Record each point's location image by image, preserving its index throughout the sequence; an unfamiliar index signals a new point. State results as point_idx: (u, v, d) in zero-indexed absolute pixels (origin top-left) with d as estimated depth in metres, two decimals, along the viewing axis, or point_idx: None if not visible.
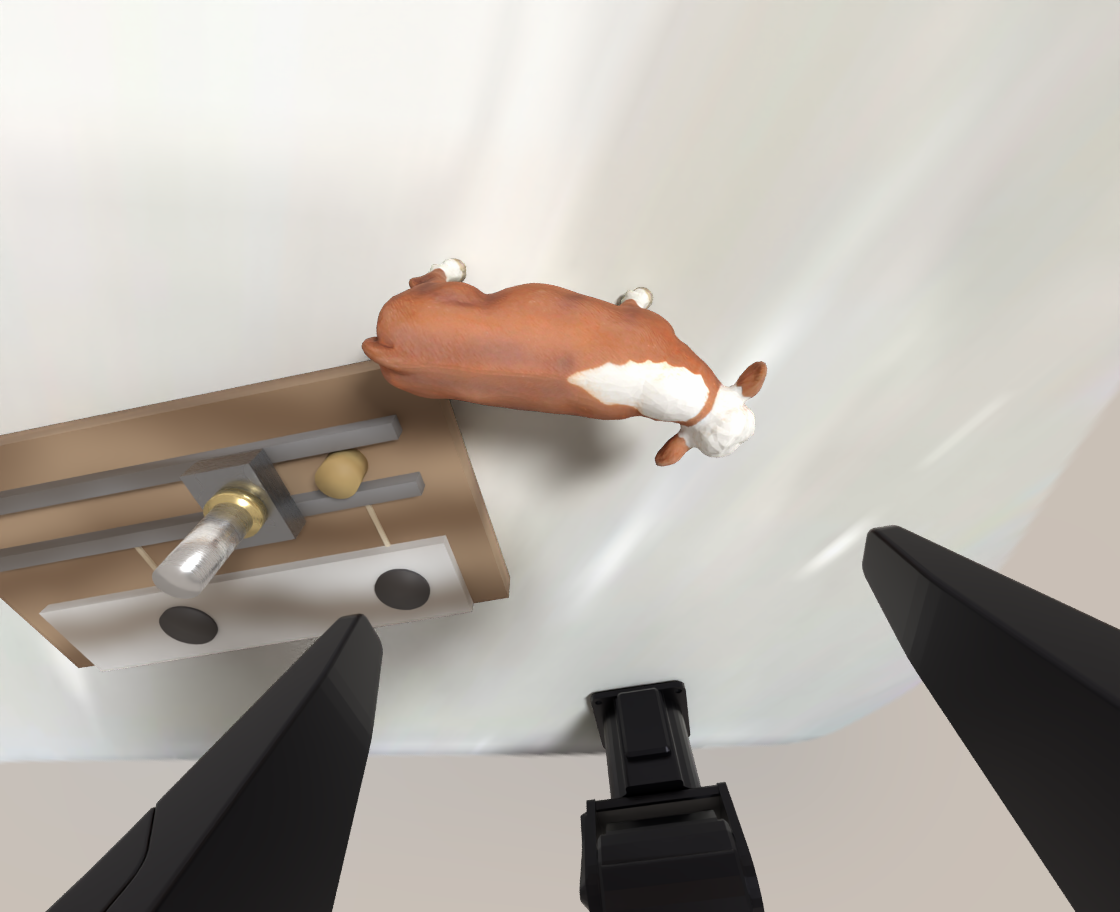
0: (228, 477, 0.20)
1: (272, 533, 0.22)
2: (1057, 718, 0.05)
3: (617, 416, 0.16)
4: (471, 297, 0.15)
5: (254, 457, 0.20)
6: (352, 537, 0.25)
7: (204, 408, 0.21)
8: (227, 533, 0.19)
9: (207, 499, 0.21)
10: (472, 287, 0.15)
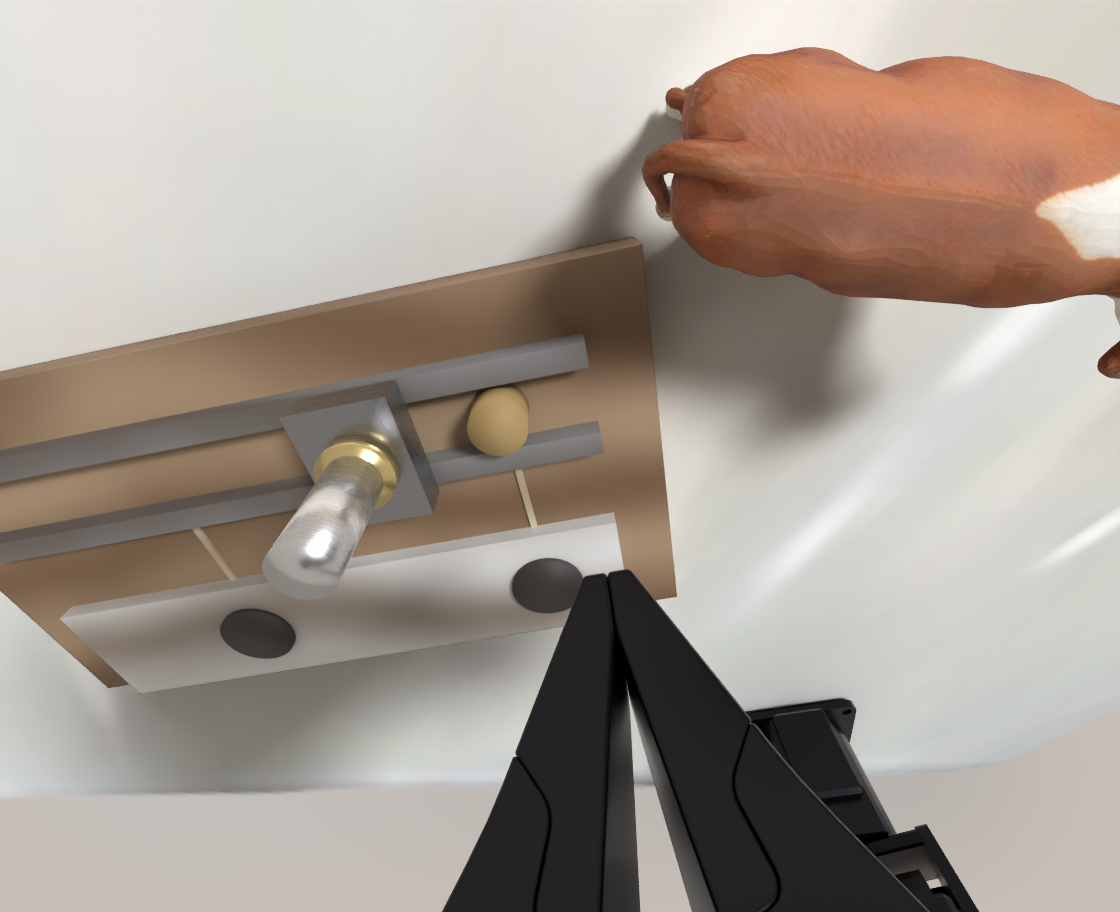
0: (351, 419, 0.14)
1: (402, 505, 0.15)
2: (660, 772, 0.06)
3: (1078, 286, 0.09)
4: (858, 64, 0.08)
5: (389, 390, 0.14)
6: (487, 515, 0.18)
7: (308, 321, 0.14)
8: (360, 499, 0.12)
9: (316, 453, 0.14)
10: None
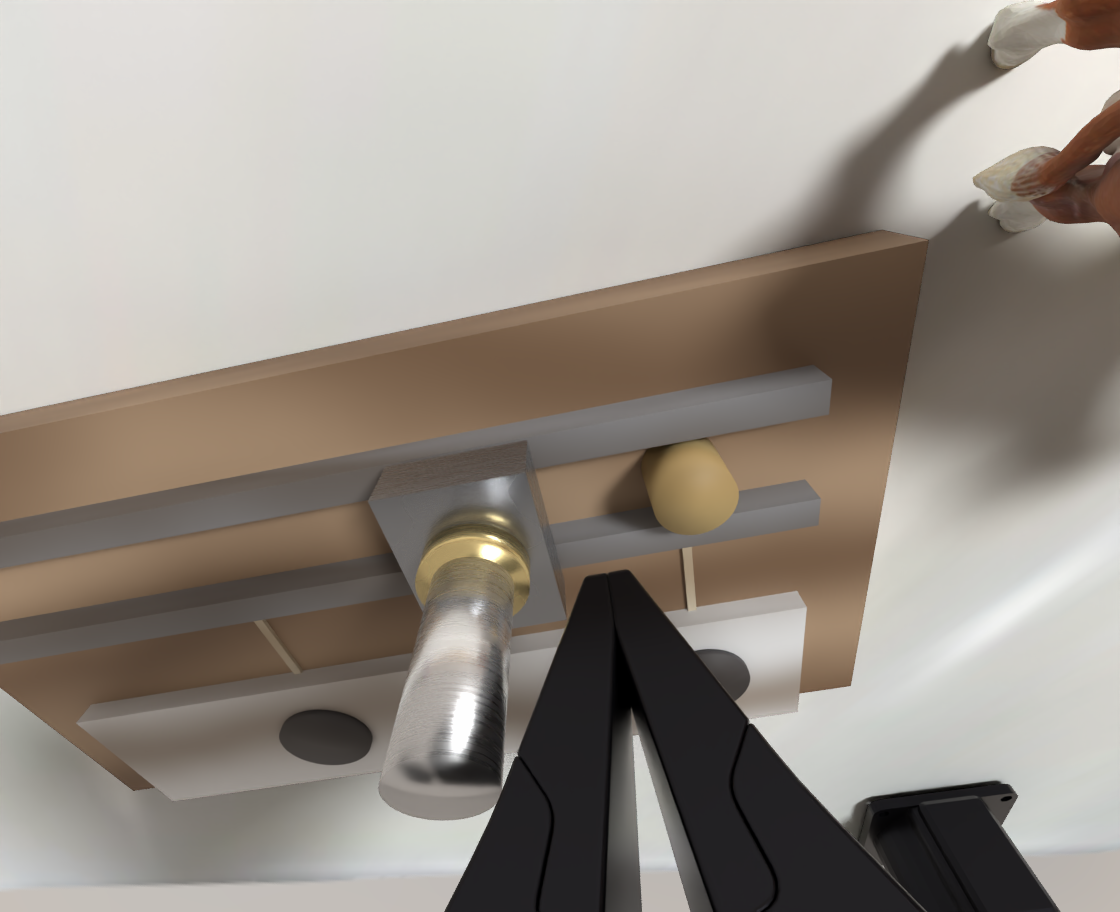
0: (472, 502, 0.09)
1: (525, 610, 0.11)
2: (658, 772, 0.06)
3: None
4: None
5: (526, 459, 0.09)
6: None
7: (433, 351, 0.10)
8: (501, 634, 0.08)
9: (416, 547, 0.10)
10: None
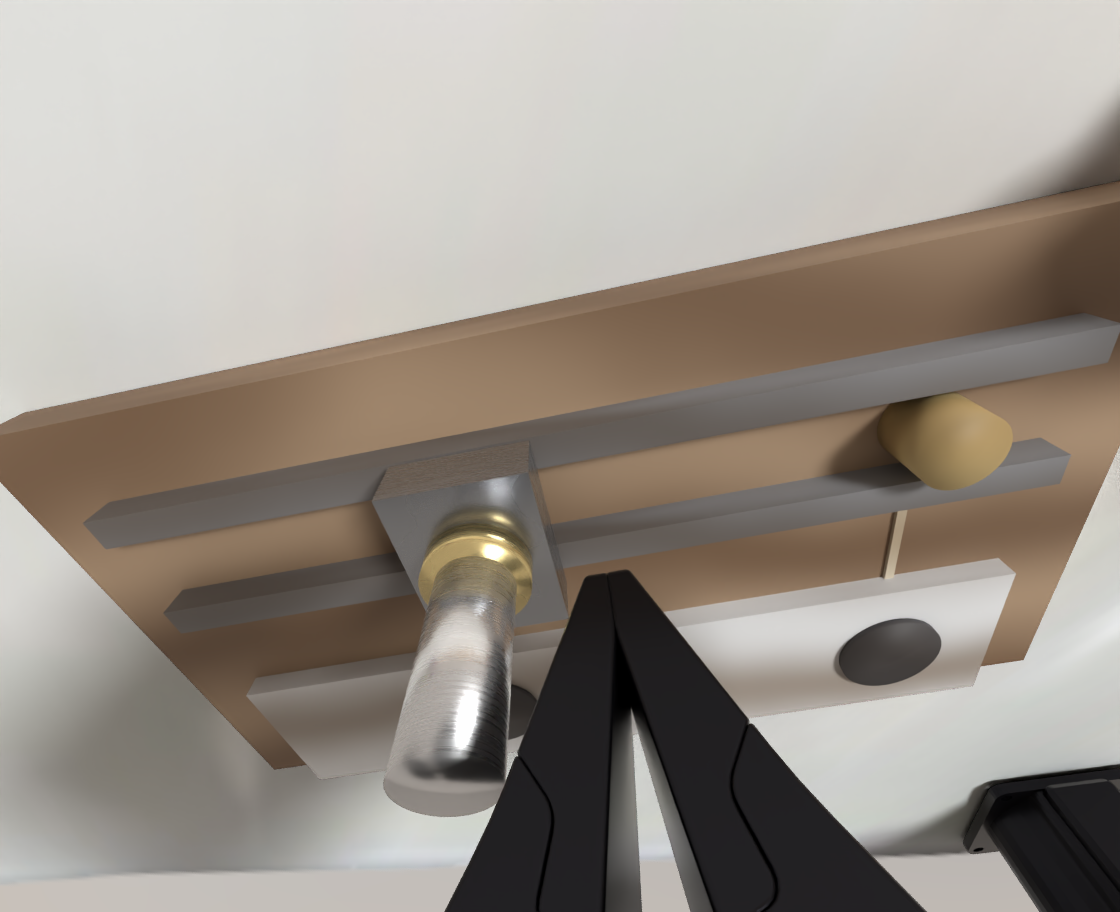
0: (475, 502, 0.09)
1: (528, 609, 0.11)
2: (658, 772, 0.06)
3: None
4: None
5: (528, 459, 0.09)
6: (832, 562, 0.14)
7: (701, 297, 0.10)
8: (504, 633, 0.08)
9: (419, 546, 0.10)
10: None
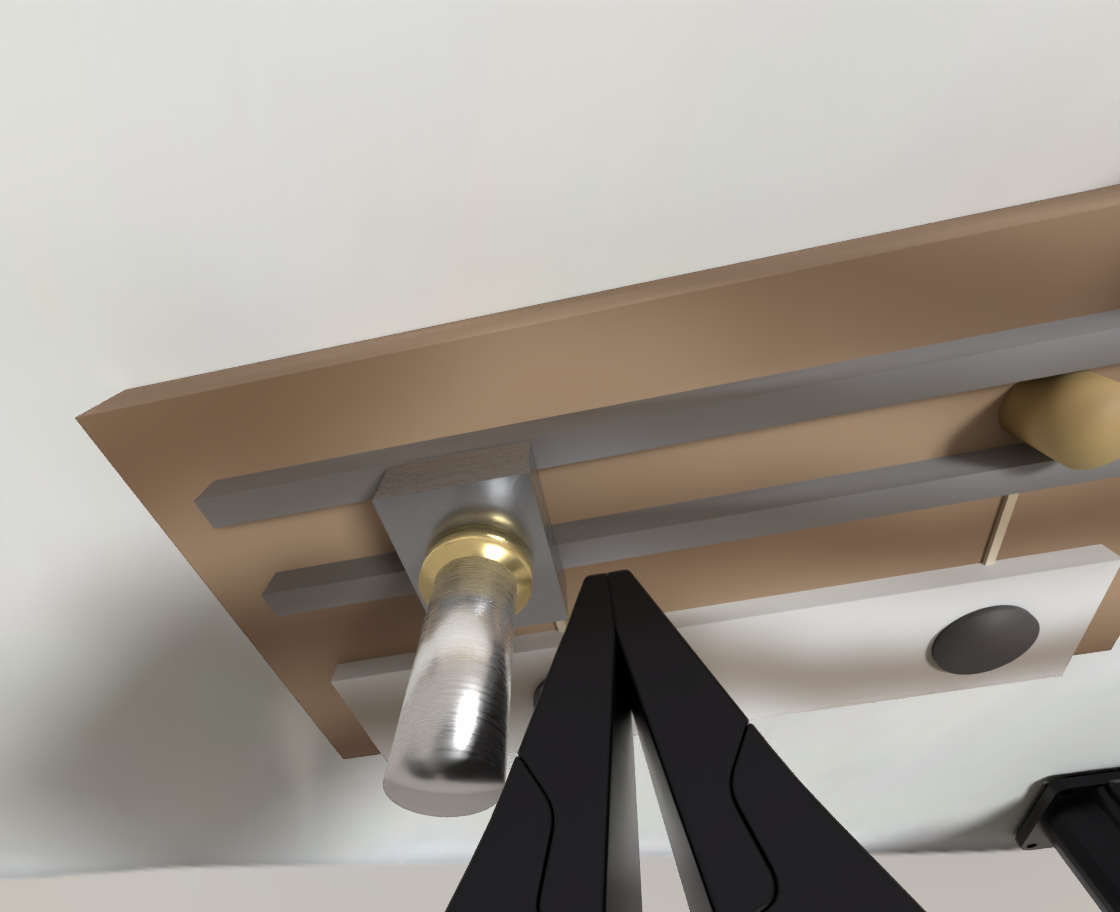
0: (476, 502, 0.09)
1: (528, 609, 0.11)
2: (657, 772, 0.06)
3: None
4: None
5: (529, 460, 0.09)
6: (934, 547, 0.13)
7: (842, 270, 0.10)
8: (504, 633, 0.08)
9: (419, 546, 0.10)
10: None
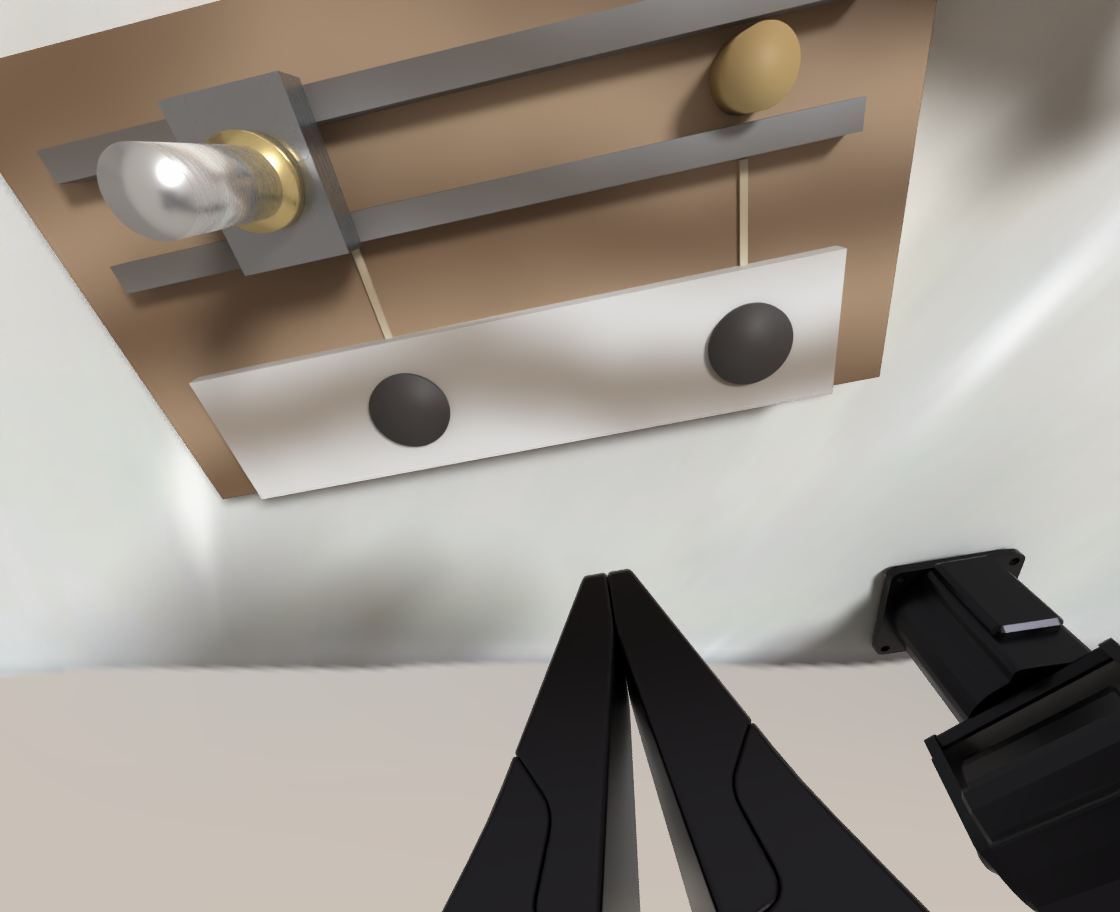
0: (241, 104, 0.12)
1: (312, 239, 0.13)
2: (659, 772, 0.06)
3: None
4: None
5: (286, 73, 0.12)
6: (693, 246, 0.16)
7: None
8: (241, 168, 0.11)
9: None
10: None
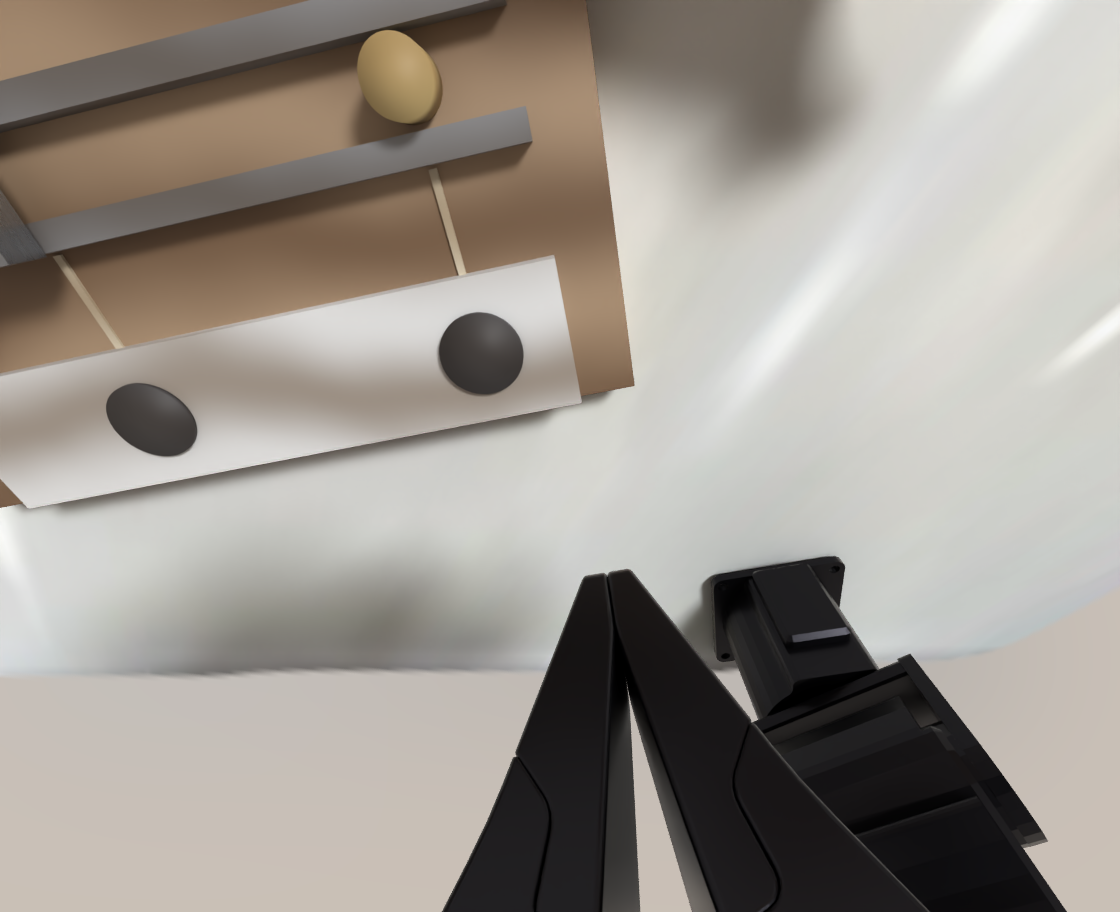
0: None
1: None
2: (660, 772, 0.06)
3: None
4: None
5: None
6: (406, 256, 0.16)
7: None
8: None
9: None
10: None
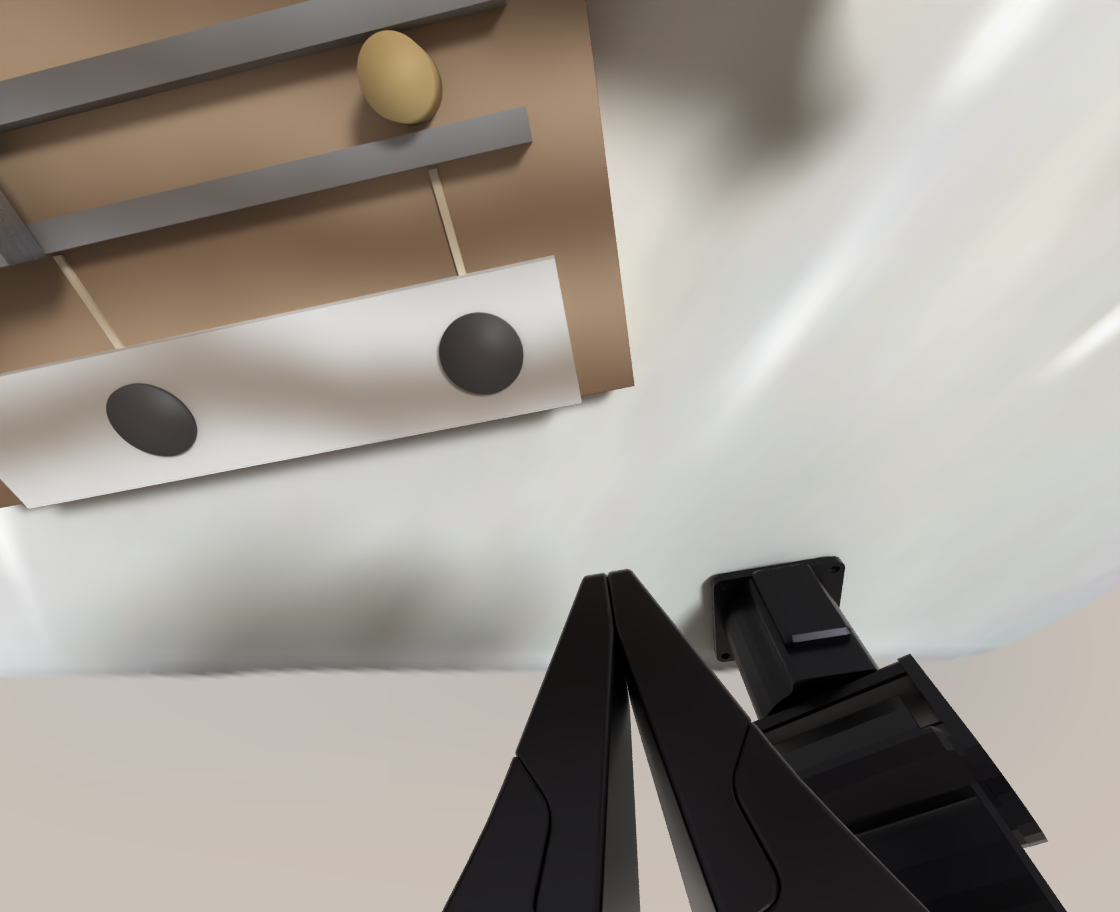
0: None
1: None
2: (659, 772, 0.06)
3: None
4: None
5: None
6: (406, 256, 0.16)
7: None
8: None
9: None
10: None
